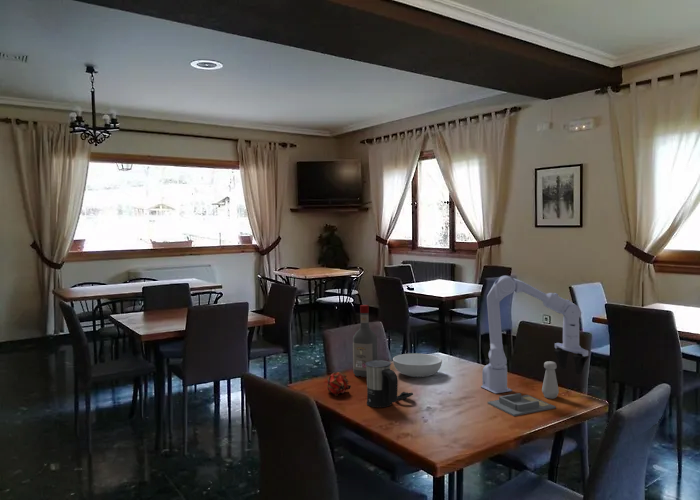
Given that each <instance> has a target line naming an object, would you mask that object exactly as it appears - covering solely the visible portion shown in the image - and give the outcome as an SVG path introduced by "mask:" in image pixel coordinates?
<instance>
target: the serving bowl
mask: <svg viewBox="0 0 700 500" xmlns="http://www.w3.org/2000/svg"><path fill="white" fill-rule="evenodd" d="M392 361H393V367H394V369H396V371H397V372H398V373H400V374H402V375H405V376H408V377H411V378H425V377H429V376H433V375H434V374H436V373H438V371H439V370H440V369H441V367H442V363H443V360H442V358H441V357H439V356H436V355H433V354H427V353H403V354H398V355H396V356H393V358H392Z"/></svg>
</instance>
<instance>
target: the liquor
mask: <svg viewBox="0 0 700 500" xmlns="http://www.w3.org/2000/svg"><path fill="white" fill-rule="evenodd" d="M369 308H370V307H369V304H361V305H359V313H360V325H359V328H358V330H356V331H355V334H353V336H352V366H353V367H352V370H353V374H355V375H354V376H355V377H359V376H361V377H360V378H367V368H366V363H367V362H369V361H376V360H378V336H377V334H376V333H375V332H374V331H373V330H372V329H371V327H370V324H369V323H370V322H369V318H370V317H369V313H370V311H369V310H370V309H369Z"/></svg>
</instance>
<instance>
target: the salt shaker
mask: <svg viewBox="0 0 700 500" xmlns="http://www.w3.org/2000/svg"><path fill="white" fill-rule="evenodd" d="M543 367H544V369H545V373H544V378H543V381H542V382H543V383H542V388H541V392H542V394H543V397H544V398H546V399H551V400H552V399H553V400H554V399H557V397H558V395H559V392H560V391H559V390H560V389H559V386H558V380H557V379H558V378H557V374H556V369H557V367H558V366H557V363H556V362H555V361H550V360H549V361H545V362H544V363H543Z"/></svg>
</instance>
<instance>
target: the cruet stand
mask: <svg viewBox="0 0 700 500" xmlns="http://www.w3.org/2000/svg"><path fill="white" fill-rule="evenodd" d="M487 404H488V405H490V406H492V407H493V408H496V409H498V410H500V411H502V412H503V413H506V414H508V415H511V416H513V417H518V416H522V415H527V414H528V415H529V414H533V413H538V412H543V411H549V410H552V409H553V410H554V409H556V408H557V407H556V406H555V405H553V404H551V403H548V402H546V401H544V400H541V399H540V398H539V399H538V398H536V397H534V396H532V395H529V394H525V395H522V393H520V392H517V393H513V394H507V395H499V396H498V399H496V400H491V401H487Z"/></svg>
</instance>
